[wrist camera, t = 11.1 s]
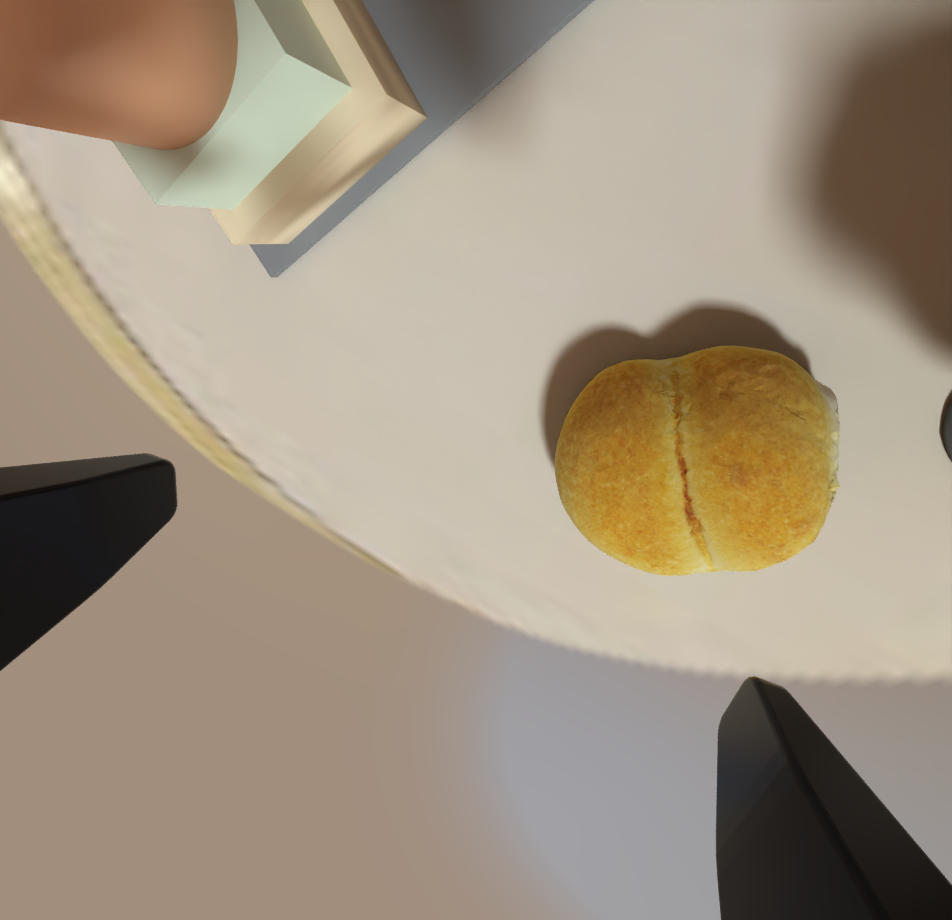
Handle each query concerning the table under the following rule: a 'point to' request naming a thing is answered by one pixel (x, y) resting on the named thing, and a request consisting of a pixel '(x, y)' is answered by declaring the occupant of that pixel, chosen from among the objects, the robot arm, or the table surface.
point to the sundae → (948, 431)
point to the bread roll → (700, 460)
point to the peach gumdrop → (118, 67)
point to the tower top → (250, 111)
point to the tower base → (332, 133)
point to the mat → (437, 80)
